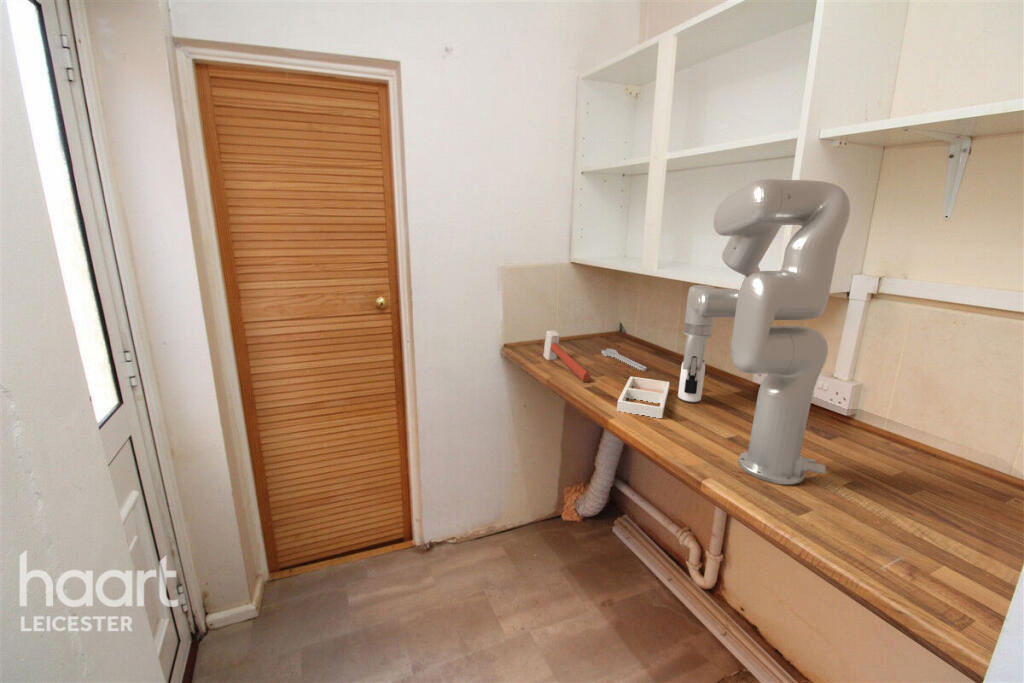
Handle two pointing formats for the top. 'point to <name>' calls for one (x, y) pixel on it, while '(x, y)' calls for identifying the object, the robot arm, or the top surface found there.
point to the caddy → (644, 396)
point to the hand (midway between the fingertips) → (690, 390)
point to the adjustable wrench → (622, 358)
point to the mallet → (562, 355)
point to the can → (700, 378)
